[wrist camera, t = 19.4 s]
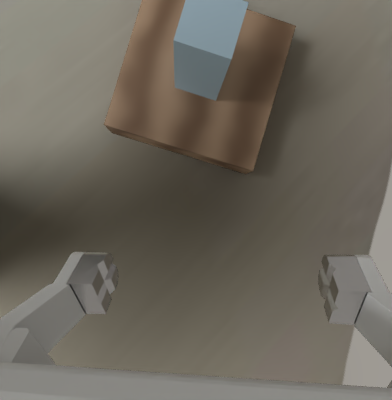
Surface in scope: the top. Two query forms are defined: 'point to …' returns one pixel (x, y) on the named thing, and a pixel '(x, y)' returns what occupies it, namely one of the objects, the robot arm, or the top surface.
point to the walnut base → (194, 104)
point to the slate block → (206, 44)
